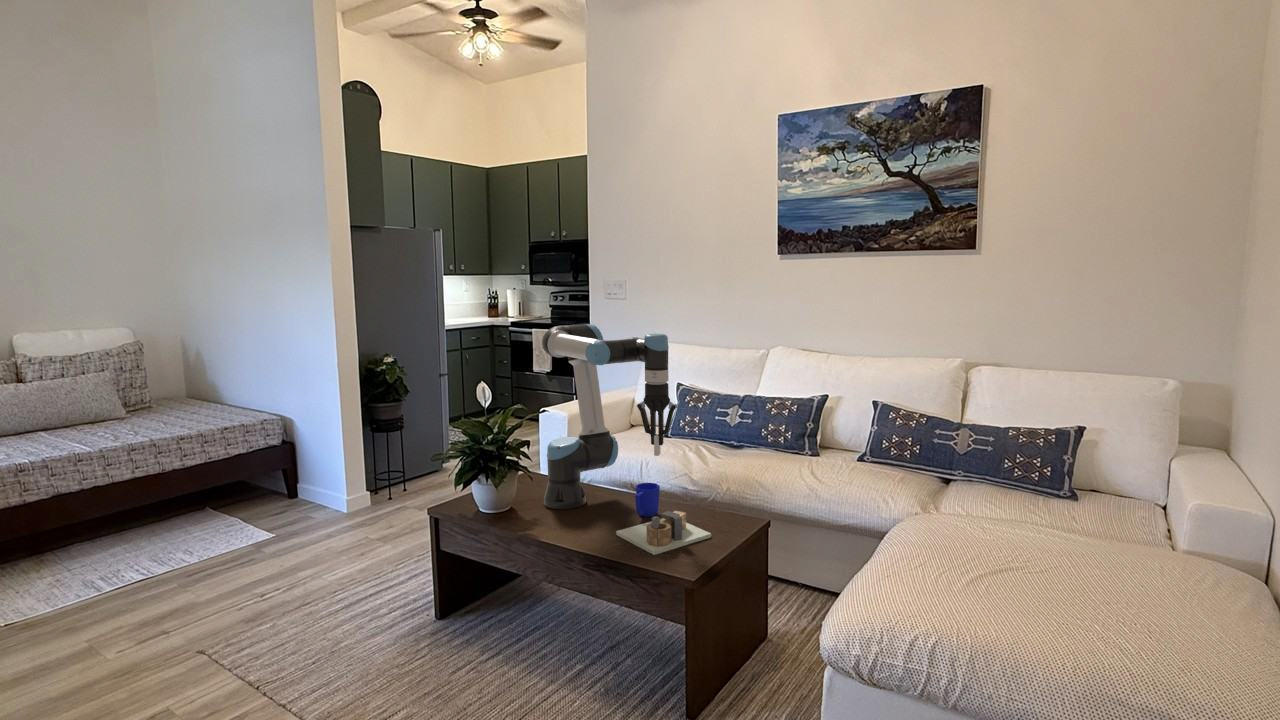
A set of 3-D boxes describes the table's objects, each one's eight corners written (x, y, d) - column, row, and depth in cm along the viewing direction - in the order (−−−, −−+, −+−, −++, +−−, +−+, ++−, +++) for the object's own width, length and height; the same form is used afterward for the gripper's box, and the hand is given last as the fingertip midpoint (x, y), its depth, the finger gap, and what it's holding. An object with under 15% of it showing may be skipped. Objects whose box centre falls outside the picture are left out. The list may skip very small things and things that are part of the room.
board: (616, 534, 221) (616, 531, 221) (671, 519, 234) (671, 515, 234) (654, 555, 205) (654, 551, 205) (711, 537, 218) (711, 533, 218)
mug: (626, 519, 234) (626, 491, 233) (643, 508, 245) (642, 481, 243) (648, 523, 230) (647, 494, 229) (663, 512, 241) (663, 484, 240)
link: (671, 524, 226) (670, 509, 225) (690, 528, 222) (690, 513, 222) (643, 543, 210) (643, 527, 210) (663, 548, 207) (663, 532, 206)
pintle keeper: (644, 542, 214) (644, 514, 213) (670, 535, 220) (670, 507, 219) (659, 550, 208) (659, 521, 207) (685, 542, 214) (685, 514, 213)
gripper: (633, 383, 219) (634, 456, 222) (674, 385, 216) (674, 458, 219) (639, 380, 226) (640, 450, 229) (679, 381, 223) (679, 452, 226)
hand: (657, 454), depth 224 cm, fingers closed
